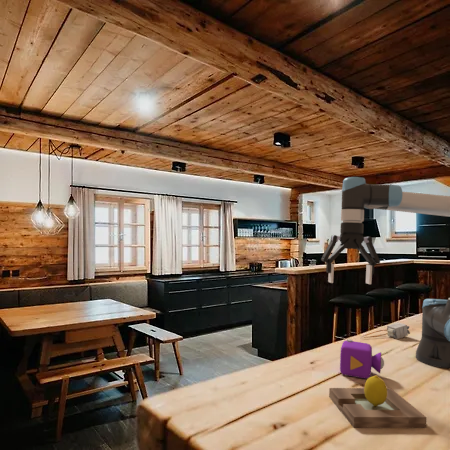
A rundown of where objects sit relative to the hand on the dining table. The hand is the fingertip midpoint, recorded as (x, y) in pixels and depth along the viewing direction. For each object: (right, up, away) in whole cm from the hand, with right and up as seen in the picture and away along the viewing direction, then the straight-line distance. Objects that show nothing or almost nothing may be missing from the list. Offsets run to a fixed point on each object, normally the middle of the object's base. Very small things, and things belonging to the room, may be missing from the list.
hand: (349, 283), depth 129 cm
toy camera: (+1, -29, -7) cm, 30 cm away
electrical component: (+28, -31, +38) cm, 56 cm away
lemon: (-4, -27, -33) cm, 43 cm away
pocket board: (-5, -28, -33) cm, 43 cm away
